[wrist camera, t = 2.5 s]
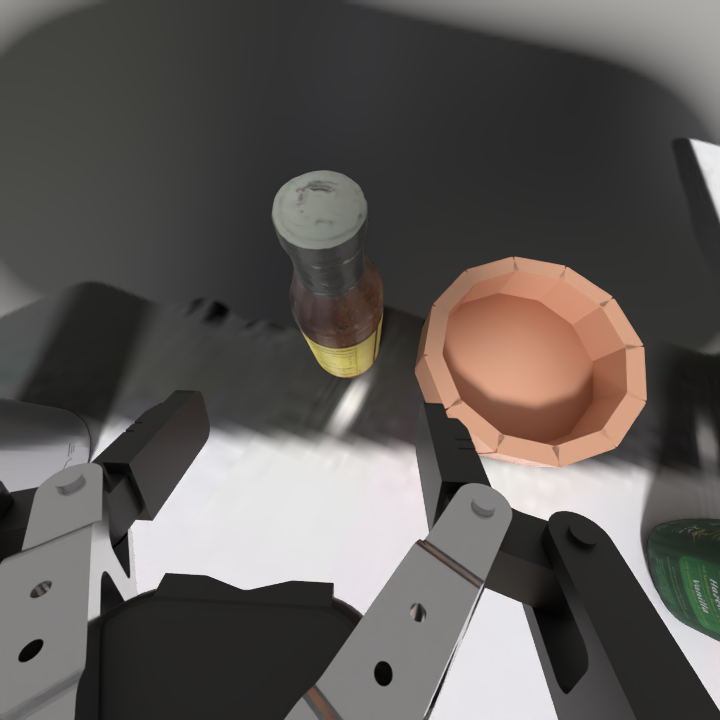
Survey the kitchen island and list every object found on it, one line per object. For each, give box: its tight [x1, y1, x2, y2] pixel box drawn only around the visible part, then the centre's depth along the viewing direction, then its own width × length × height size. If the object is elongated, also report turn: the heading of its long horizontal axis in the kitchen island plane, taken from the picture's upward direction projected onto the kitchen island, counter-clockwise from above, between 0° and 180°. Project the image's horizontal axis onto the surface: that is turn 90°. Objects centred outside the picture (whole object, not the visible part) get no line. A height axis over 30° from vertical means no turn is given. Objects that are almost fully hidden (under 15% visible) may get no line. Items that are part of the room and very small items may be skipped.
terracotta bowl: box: [415, 257, 647, 467], centre depth 29 cm, size 18×18×5 cm
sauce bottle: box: [272, 170, 383, 378], centre depth 22 cm, size 6×6×20 cm
